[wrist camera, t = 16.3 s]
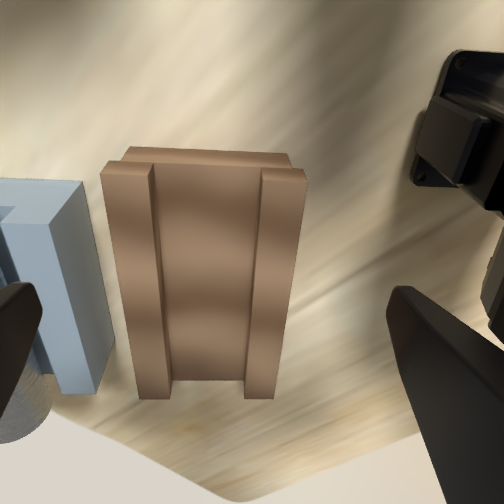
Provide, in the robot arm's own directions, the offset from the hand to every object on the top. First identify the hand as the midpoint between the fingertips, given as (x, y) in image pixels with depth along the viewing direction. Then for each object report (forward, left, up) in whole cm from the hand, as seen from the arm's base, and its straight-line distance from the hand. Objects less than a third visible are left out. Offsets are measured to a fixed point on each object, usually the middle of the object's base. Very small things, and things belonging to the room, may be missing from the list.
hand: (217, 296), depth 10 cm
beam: (+1, +8, -12) cm, 14 cm away
